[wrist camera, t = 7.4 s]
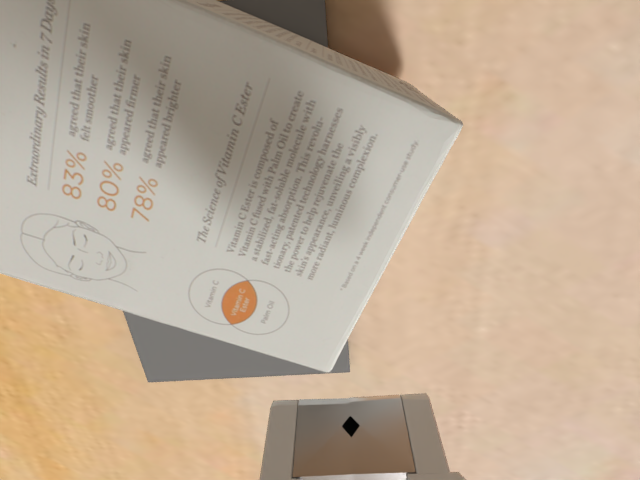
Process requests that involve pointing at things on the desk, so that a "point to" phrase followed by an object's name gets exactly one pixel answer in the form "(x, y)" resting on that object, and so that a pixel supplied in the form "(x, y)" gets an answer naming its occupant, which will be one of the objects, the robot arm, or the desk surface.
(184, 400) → the desk surface
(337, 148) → the small box
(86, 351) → the desk surface
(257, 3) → the mat
